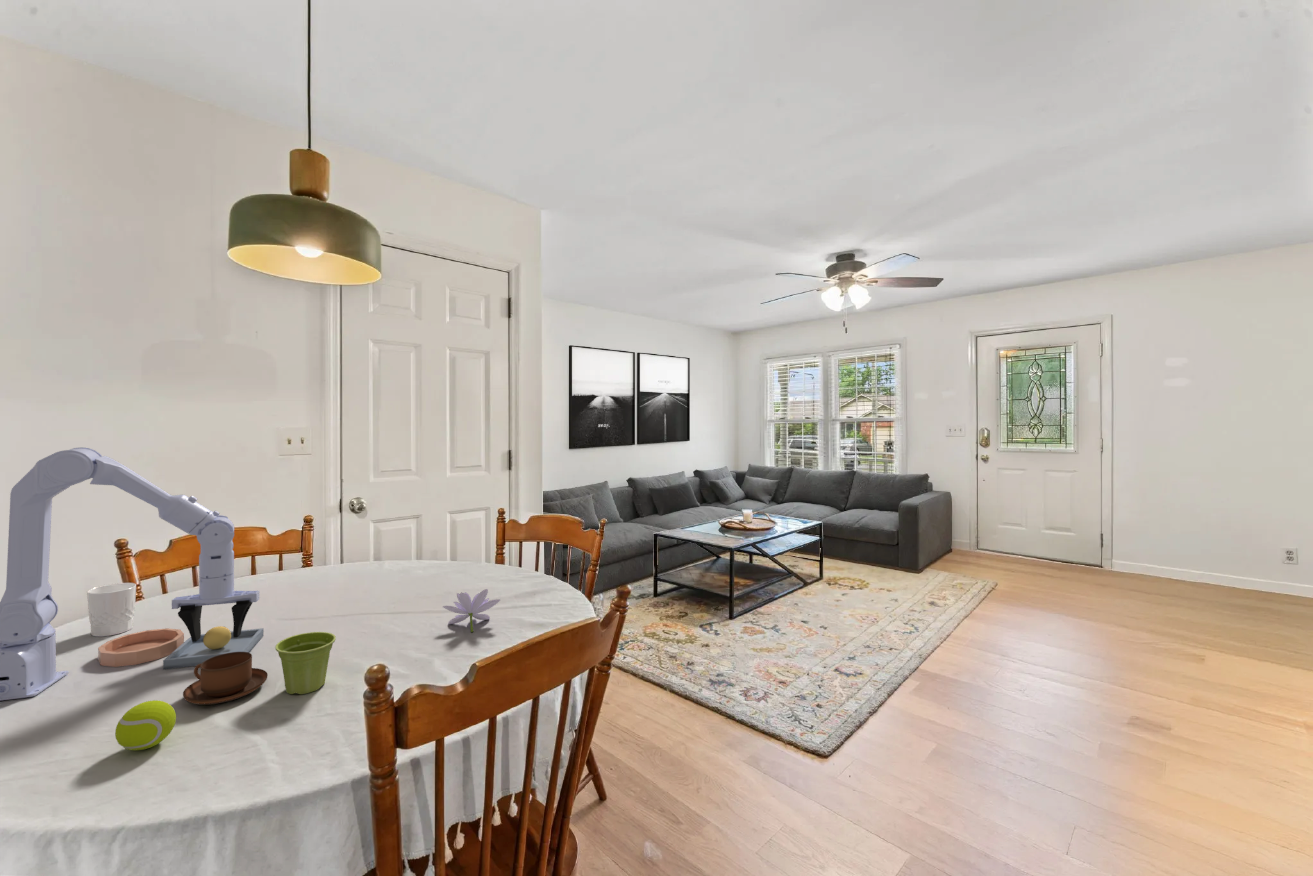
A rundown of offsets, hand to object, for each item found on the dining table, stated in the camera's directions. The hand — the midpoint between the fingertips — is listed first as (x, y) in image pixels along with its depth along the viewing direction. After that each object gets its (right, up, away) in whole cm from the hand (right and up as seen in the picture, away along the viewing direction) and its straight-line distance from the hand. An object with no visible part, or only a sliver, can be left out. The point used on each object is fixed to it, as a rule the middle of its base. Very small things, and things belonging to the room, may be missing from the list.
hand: (217, 638), depth 114 cm
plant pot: (+28, -4, -14) cm, 31 cm away
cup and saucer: (+15, -4, -16) cm, 23 cm away
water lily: (+48, -4, +18) cm, 52 cm away
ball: (0, 0, 0) cm, 0 cm away
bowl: (-15, -3, -1) cm, 15 cm away
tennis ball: (+16, -5, -32) cm, 36 cm away
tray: (0, -3, 0) cm, 3 cm away
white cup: (-32, -2, +9) cm, 33 cm away
